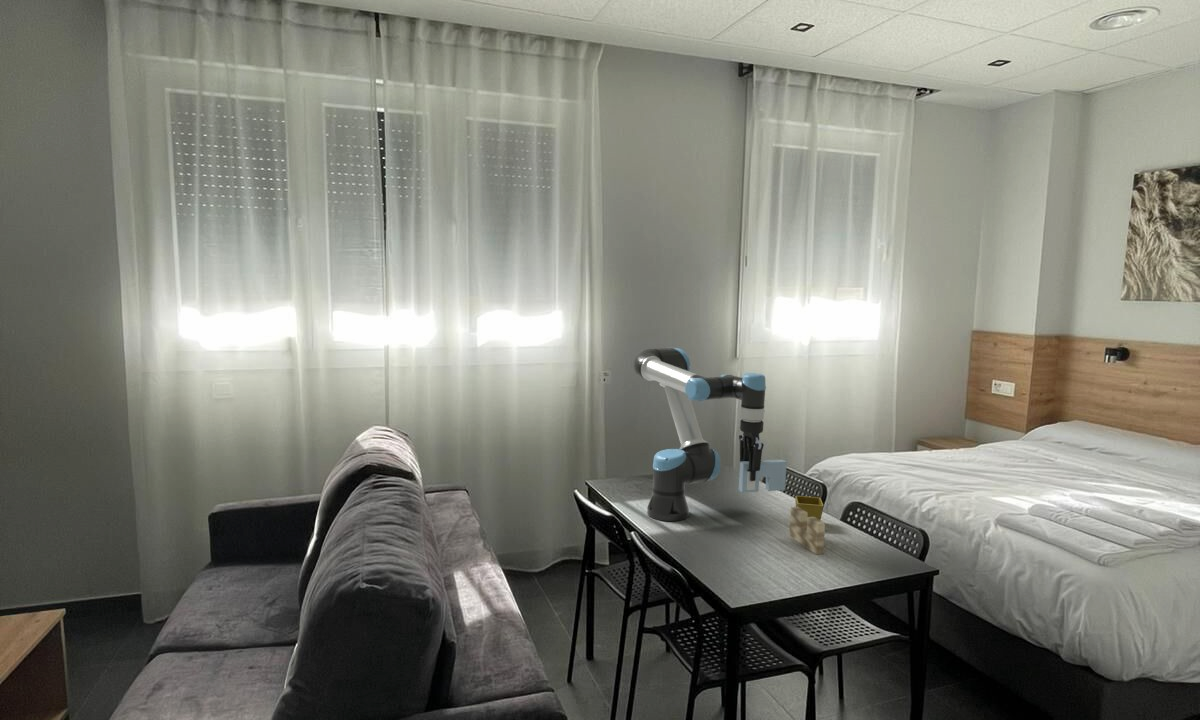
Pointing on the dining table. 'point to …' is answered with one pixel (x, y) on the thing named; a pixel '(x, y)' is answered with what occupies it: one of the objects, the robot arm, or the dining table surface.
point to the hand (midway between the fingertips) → (748, 487)
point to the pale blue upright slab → (765, 475)
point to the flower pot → (810, 505)
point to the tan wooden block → (807, 530)
